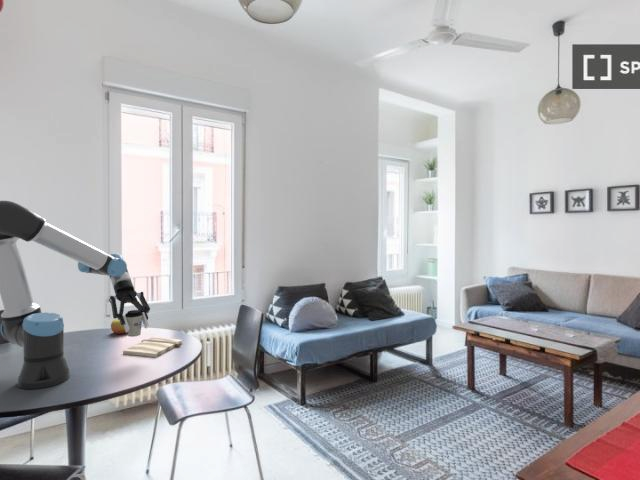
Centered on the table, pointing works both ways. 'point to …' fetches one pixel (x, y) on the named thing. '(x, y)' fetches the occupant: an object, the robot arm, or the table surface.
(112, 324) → the apple
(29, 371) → the robot arm
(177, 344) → the subfloor panel
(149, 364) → the table surface
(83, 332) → the table surface
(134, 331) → the coffee cup
